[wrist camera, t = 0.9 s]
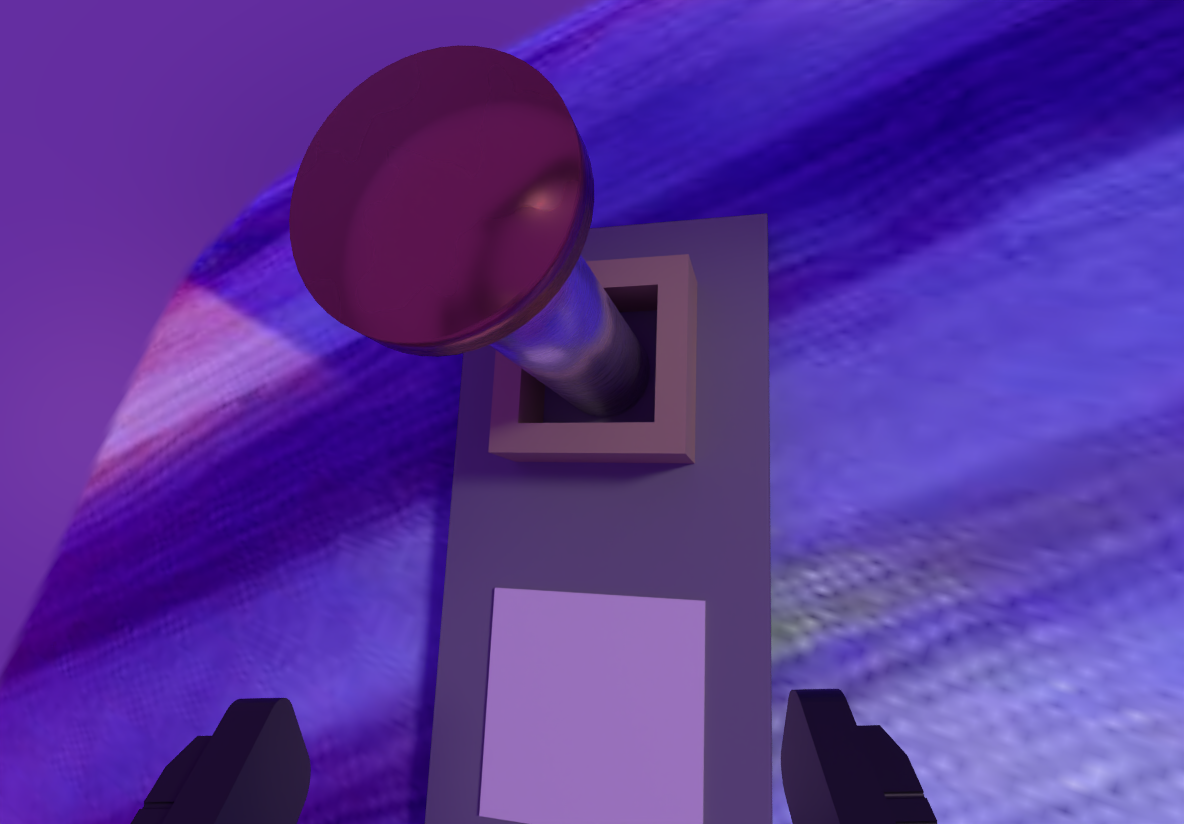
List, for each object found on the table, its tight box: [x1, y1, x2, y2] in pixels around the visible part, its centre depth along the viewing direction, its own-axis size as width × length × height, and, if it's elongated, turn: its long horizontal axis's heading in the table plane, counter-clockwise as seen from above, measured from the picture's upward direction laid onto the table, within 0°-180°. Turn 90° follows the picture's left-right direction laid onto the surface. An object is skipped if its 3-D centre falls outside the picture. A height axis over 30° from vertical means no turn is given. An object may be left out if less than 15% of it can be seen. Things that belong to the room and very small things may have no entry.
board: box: [425, 214, 772, 824], centre depth 28 cm, size 28×14×4 cm, turn 178°
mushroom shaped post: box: [289, 46, 650, 417], centre depth 23 cm, size 7×7×16 cm
